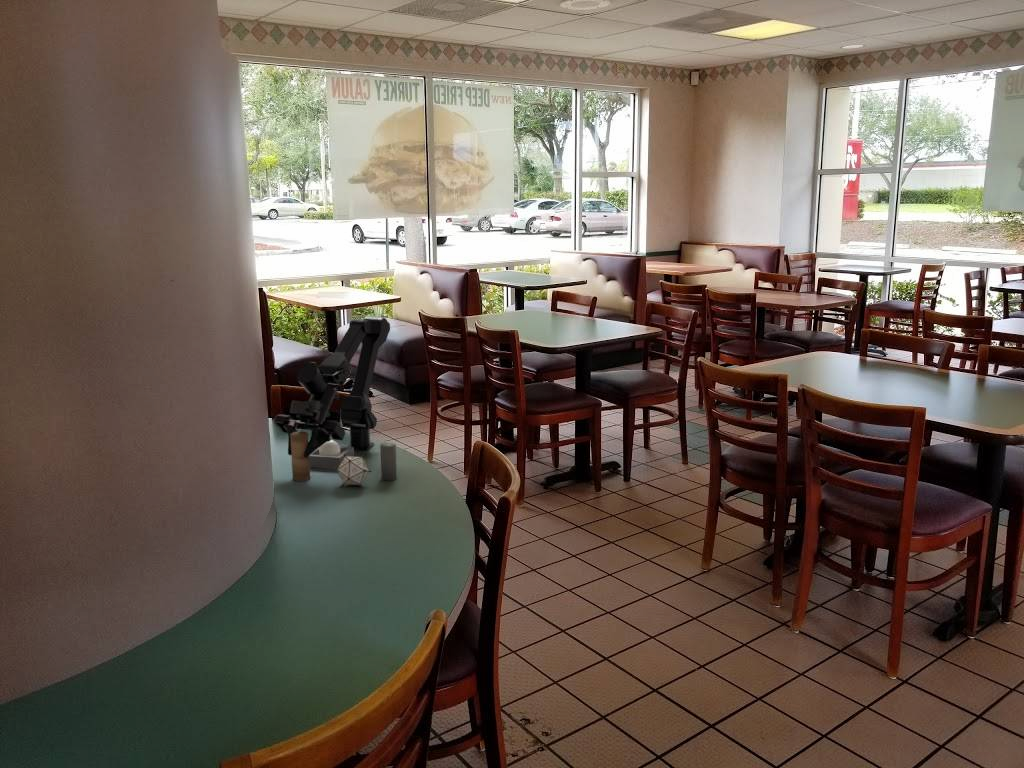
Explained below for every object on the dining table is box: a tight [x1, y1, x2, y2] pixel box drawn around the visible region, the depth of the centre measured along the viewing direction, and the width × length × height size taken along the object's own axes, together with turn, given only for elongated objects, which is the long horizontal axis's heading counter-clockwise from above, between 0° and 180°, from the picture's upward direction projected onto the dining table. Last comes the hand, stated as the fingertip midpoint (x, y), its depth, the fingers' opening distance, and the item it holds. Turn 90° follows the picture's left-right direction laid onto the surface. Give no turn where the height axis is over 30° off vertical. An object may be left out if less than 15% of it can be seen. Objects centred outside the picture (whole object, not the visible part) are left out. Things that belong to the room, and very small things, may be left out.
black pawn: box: [379, 442, 398, 481], centre depth 215 cm, size 4×4×9 cm
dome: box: [319, 439, 340, 456], centre depth 227 cm, size 6×6×6 cm
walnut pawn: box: [290, 431, 311, 482], centre depth 213 cm, size 4×4×12 cm
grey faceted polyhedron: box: [333, 453, 373, 488], centre depth 209 cm, size 9×8×10 cm
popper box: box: [309, 445, 355, 470], centre depth 227 cm, size 10×10×3 cm
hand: (297, 455), depth 212 cm, fingers closed on walnut pawn, 4 cm apart
